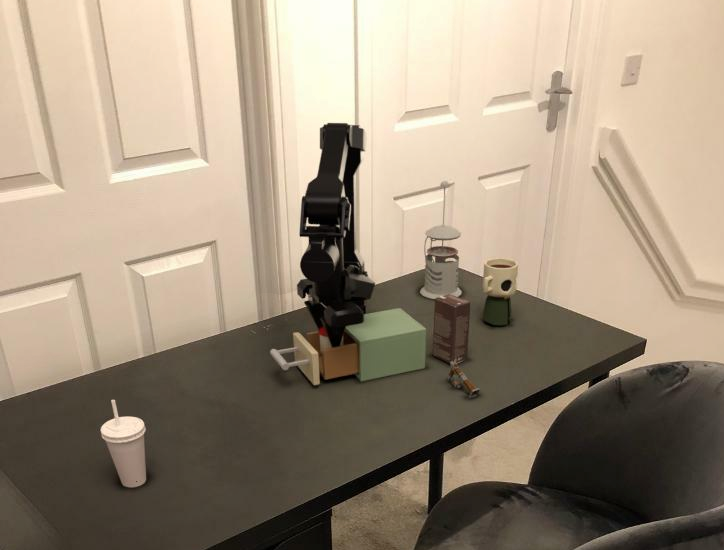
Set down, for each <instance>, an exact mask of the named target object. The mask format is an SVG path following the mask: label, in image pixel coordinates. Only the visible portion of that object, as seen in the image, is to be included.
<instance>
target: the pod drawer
mask: <svg viewBox="0 0 724 550" xmlns="http://www.w3.org/2000/svg"><path fill="white" fill-rule="evenodd" d="M292 338H293V339H292V340H293V347H289V348H283V349H276V348H272V349H271V350H270V351H269V354H270V356H271V357H272V358H273V359H274V361H275V362H276V363H277V364H278V365H279V367H280V368H281V369H282V370H283V371H287V370H289V369H290V368H292V367H296V366H297V367H298V369H300V371H301V372H302V373H303V374H304V376H305V377H306V378H307V380H309V381H310V382H311V384H312V385H313V386H317V385H320V384H321V381H320V378H321V377H322V378H323V379H324V380H326V381H327V380H330V379H335V378H340V377H345V376H351V375H354V374H355V373H359V344H358V343H357V342H356V341H355V340H354V339H353V338H352V337H351V336H350V335H349V334H348V333H347V332H345V331H344V333H343V343H344V345H343V346H338V347H333V348H327V349H322V353H321V350H320V334H319V333H318V330H316V331H310V332H307V333H306V338H305V337H304V336H303V335H302V334H301V333H300V331H297V332H293V333H292ZM288 353H294V361H292V362H287V360H285V358H284V357H283V356H282V355H283V354H288ZM320 376H321V377H320Z"/></svg>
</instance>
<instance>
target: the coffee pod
mask: <svg viewBox="0 0 724 550" xmlns="http://www.w3.org/2000/svg"><path fill="white" fill-rule="evenodd" d="M317 331H318V333H319V334H320V350H321V353H322V349H327V348H332V346H331V344H330V342H329V339H328V337H327V334H326V332H325V329H324V327H321V328H319V330H318V329H317ZM343 345H344V343H343V337H342V340H341V343H340V346H343Z"/></svg>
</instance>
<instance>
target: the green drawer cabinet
mask: <svg viewBox="0 0 724 550" xmlns="http://www.w3.org/2000/svg"><path fill="white" fill-rule="evenodd" d="M344 331H345V332H347V333H348V334H349V335H350V336H351V337H352V338H353V339H354V340H355V341H356V342H357V343H358V344H359V373H355V374H353V375H354V376H355V377H356V378H357V379H358V381H360V382H365V381H369V380H375V379H379V378H384V377H389V376H394V375H399V374H404V373H409V372H413V371H417V370H423V369H426V353H427V351H426V350H427V328H425V327H424V326H423V325H422V324H421V323H419V321H417V320H415V319H414V317H412V316H411V315H409V314H408V313H407V312H406V311H404V309H402V308H400V307H397V308H392V309H387V310H386V309H385V310H381V311H375V312H370V313H366V314H364V322H363V323H361V324H355V325H350V326H346V328H345V330H344Z"/></svg>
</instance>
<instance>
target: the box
mask: <svg viewBox="0 0 724 550" xmlns="http://www.w3.org/2000/svg"><path fill="white" fill-rule="evenodd" d="M471 302H472V301H469V300H468V299H464V298H461V297H460V296H458V297H456V296H454V295H451V294H448V295H444V296H440V297H437V298H435V299H434V311H433V312H434V313H433V334H432V336H433V338H432V357H434V358H437V359H439V360H442V361H443V362H446V363H448V364H450V362H451V361H453V362H456V363H457V364H461V363H463V362H464V361H467V359H468V348H469V335H470V319H471V317H470V316H471V305H472V303H471Z"/></svg>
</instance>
